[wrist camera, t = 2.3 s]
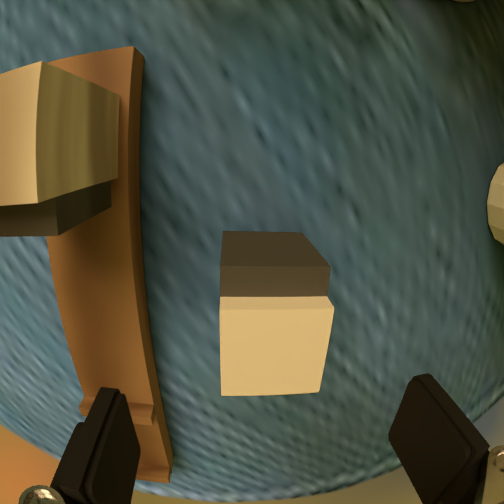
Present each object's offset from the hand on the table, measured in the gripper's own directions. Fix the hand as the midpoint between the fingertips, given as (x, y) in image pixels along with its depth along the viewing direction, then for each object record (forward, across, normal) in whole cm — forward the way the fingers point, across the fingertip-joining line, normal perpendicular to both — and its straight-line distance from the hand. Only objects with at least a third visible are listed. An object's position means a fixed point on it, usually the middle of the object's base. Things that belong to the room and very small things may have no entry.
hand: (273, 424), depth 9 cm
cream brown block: (+10, 0, -1) cm, 10 cm away
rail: (+10, +8, +1) cm, 13 cm away
